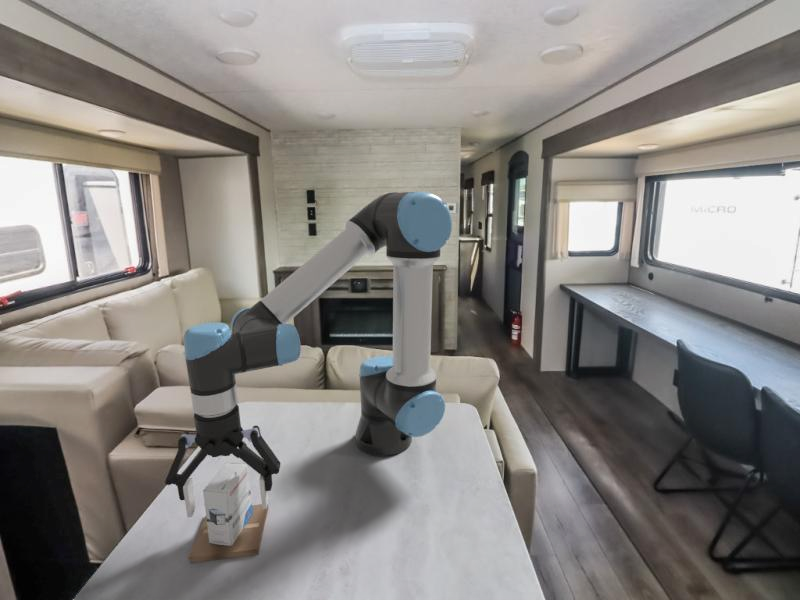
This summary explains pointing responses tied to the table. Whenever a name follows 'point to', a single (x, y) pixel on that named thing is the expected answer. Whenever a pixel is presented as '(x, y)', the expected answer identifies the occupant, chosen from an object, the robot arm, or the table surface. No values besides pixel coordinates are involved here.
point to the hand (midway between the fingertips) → (229, 508)
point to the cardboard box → (242, 546)
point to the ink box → (228, 503)
